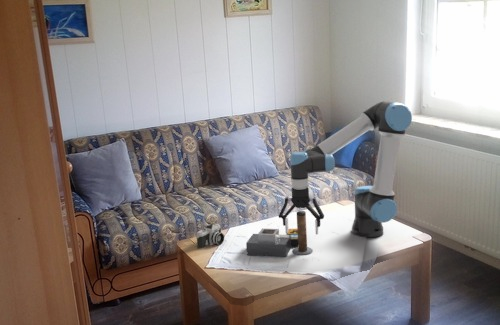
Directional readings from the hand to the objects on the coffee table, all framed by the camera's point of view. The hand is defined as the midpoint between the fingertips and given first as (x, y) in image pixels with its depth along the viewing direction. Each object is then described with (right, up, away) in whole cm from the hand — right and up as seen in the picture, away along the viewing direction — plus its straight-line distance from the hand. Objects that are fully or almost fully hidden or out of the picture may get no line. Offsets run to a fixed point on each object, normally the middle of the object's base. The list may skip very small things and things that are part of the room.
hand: (301, 232), depth 238 cm
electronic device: (-1, -6, +23) cm, 23 cm away
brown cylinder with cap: (+1, -8, +2) cm, 8 cm away
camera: (-41, -8, +17) cm, 46 cm away
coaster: (+1, -8, +2) cm, 9 cm away
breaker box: (-14, -9, +4) cm, 17 cm away
